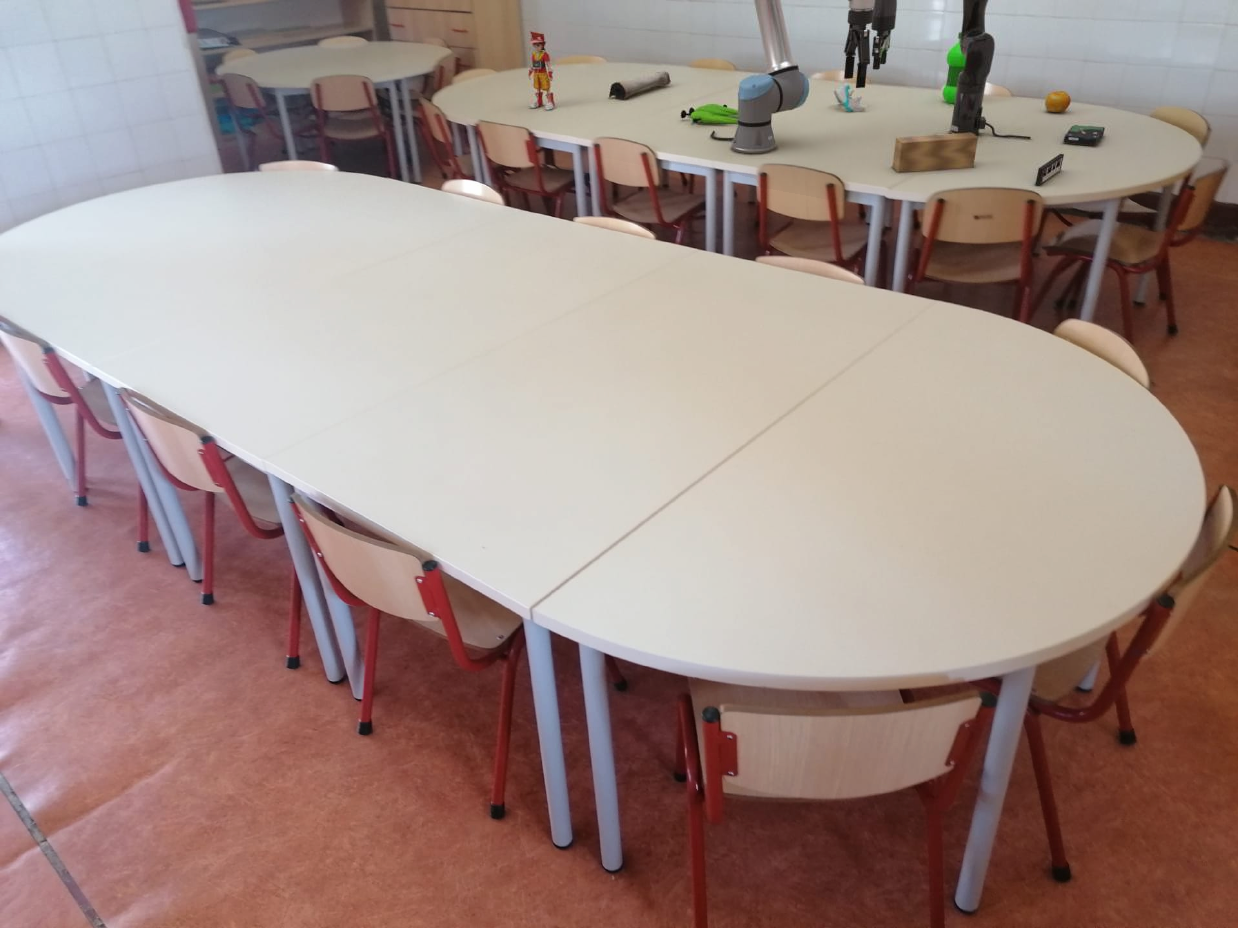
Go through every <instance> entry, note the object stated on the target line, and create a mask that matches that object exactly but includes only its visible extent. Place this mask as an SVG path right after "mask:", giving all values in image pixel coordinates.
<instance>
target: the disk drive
mask: <svg viewBox="0 0 1238 928" xmlns="http://www.w3.org/2000/svg"><path fill="white" fill-rule="evenodd" d="M1105 129H1106V127H1104V126H1093V125H1078V124H1074V125H1072V126H1071V127H1070V128H1069V130H1068V131H1067V132H1066V134H1064V138H1063V143H1066V144H1071V145H1080V146H1097V145H1098V143H1099V141H1100V140H1101V139H1102V137H1103V136H1104V134H1105Z"/></svg>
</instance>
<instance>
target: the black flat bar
mask: <svg viewBox="0 0 1238 928" xmlns="http://www.w3.org/2000/svg"><path fill="white" fill-rule="evenodd" d="M1064 157H1065V153H1059V154H1058V155H1056V156H1055V157H1052V159H1051V160H1049V161H1047V162H1045V164H1042V165H1041V166H1039V167H1038V169H1037V175H1036V179H1035V186H1040V185H1042V183H1044V182H1045V181H1047V180H1048V179H1049V178H1051V177H1052V176H1054V175H1055V174H1056V173H1058V172H1060V171H1061V170H1062V165H1063V161H1064Z"/></svg>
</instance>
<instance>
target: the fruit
mask: <svg viewBox="0 0 1238 928" xmlns="http://www.w3.org/2000/svg"><path fill="white" fill-rule="evenodd" d="M1071 102H1072V99H1071V96H1070V94H1069V93H1067V92H1066V91H1063V90H1055V91H1052V92H1050V93H1049V94H1048V95H1047V96H1046V98H1045V101H1044V107H1045V109H1046V110H1047V111H1048V112H1051V113H1061V112H1065V111H1066V110H1067V109H1068V108H1069V106H1070V105H1071Z"/></svg>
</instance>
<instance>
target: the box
mask: <svg viewBox="0 0 1238 928" xmlns="http://www.w3.org/2000/svg"><path fill="white" fill-rule="evenodd" d="M978 141H979V137H978V135H974V134H973V133H958V134H950V133H945V134H944V133H943V134H931V135H917V136H904V137H903V136H902V137H895V143H894V152H893V160H892V168H893V169H894V170H895V171H896V172H897V173H908V172H909V173H911V172H924V171H938V170H950V169H965V168H974V166H975V160H976V155H977V148H978Z"/></svg>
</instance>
